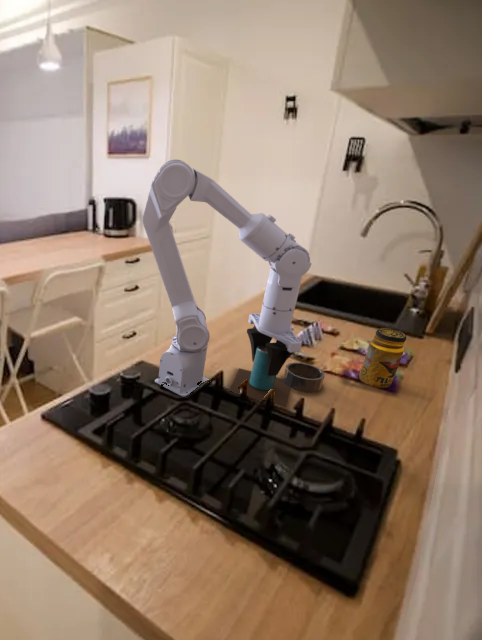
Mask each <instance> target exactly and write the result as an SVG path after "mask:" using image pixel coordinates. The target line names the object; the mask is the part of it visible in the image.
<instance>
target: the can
mask: <svg viewBox="0 0 482 640" xmlns="http://www.w3.org/2000/svg"><path fill="white" fill-rule="evenodd" d="M267 362H268V352H267V348H266V344H261V345H259V346H258V347H257V349H256V354H255V358H254V362H252V368H251V370H250V371H251V376H250V380H249V383H250V384H251V385H252V386H253V387H255V388H257V389H261V390H270V389H272V388H273V387H274V383H275V379H276V377H277V375H272V376H268V375H267Z"/></svg>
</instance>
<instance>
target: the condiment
mask: <svg viewBox="0 0 482 640" xmlns="http://www.w3.org/2000/svg"><path fill="white" fill-rule="evenodd" d="M406 341H407V335H406V333H404V332H402V331H399V330H397V329H393V328H388V327H387V328H385V327H381V328H378V329H376V331H375V334H374V336H373V339H372V340H371V341H369V345H368V347H367V350H366V353H365V356H364V358H363V362H362V365H361V368H360V371H359V374H358V376H359V377H358V378H359V380H360V381H361V382H362V383H364V384H366V385H367V386H370V387H375V388H377V389H379V388H380V389H387V388H390V387H391V385H392V384H393V381H394V379H395V376H396V373H397V371H398V368H399V365H400V363H401V360H402V358H403V356H404V352H405V348H404V346H405V344H406Z"/></svg>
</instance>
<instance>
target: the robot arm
mask: <svg viewBox="0 0 482 640" xmlns="http://www.w3.org/2000/svg"><path fill="white" fill-rule="evenodd" d="M186 198H189V200H190V201H191V202H199V203H205V204H207V205H209V206H210V207H211V208H213V210H215V211H216V212H217V213H219V214H220V215H221V216H223V217H224V218H225V219H227V220H228V221H229V222H230V223H231V224H232V225H234V226H235V227H236V228H237V229H238V239H239V241H240V242H241V243H243V244H244V245H245V246H246V247H248V248H249V249H250V250H251V251H252V252H254V253H255V254H256V255H257V256H258V257H260V258H261V259H262V260H263V261H265V262H267V263H268V265H269V266H270V268H269V273H268V278H267V281H266V285H265V291H264V294H263V299H262V305H261V310H260V313H257V312H256V313H249V316H248V321H247V323H248V324H249V325H254V326H253V327H250V328H247V329H246V334H247V336H248V338H249V342H250V349H251V358H252V359H251V360H252V363H254V358H255V354H256V349H257V347H258V346H259V345H261V344H266V348H267V352H268V362H267V375H268V376H272V375H276V376H278V375H279V374H280V371H281V370H282V368H283V366H284V365H285V363H286V362H287V361H288V360H289V358H290V357H291V356H292V355H294V354H295V353H300V352H301V349H302V345H303V344H302V343H303V342H302V341H301V340H299V338H298V337H297V336H296V334H295V333H294V332H293V331H294V330H295V327H294V326H293V325H292V322H293V317H294V313H295V310H296V305H297V301H298V297H299V293H300V289H301V283H302V278H303V276H304V275H306V274H307V273H308V272H309V270H310V269H311V266H312V263H311V257H310V253H309V252H308V250H307V249H306V248H305V247H303V246H302V245H301V244H299V243H298V242H297V241H296V240H295V239H296V236H295V235H294V234H292V233H291V232H289V233H287V232H286V231H284V230H283V229H282V228H281V227H279V226H278V224H276V223H275V222H276V221H277V219H276V218H275V217H274V216H273V215H272V214H268V215H266V214H265V213H263V212H259V213H250V211H248V210H247V209H246V208H245V207H244V206H243V205H241V204H240V203H239V202H238V201H237V200H236V199H235V198H234V197H233V196H232V195H231V194H230V193H228V192H227V190H225V189H224V188H223V187H222V186H221V185H220V184H218V183H217V182H216V180H214V179H212V178H211V177H209V176H208V175H206V174H204V173H203V172H200V171H199V170H197V169H195V168H192V167H191V165H189V164H188V163H187V162H186V161H184V160H181V159H177V158H176V159H170V160H168V161H166V162H165V163H163V165H162V166H161V167H160V168H159V169H158V171H157V172H156V174H155V176H154V177H153V179H152V182H151V184H150V187H149V191H148V194H147V199H146V202H145V205H144V210H143V214H142V217H141V219H142V225H143V228H144V230H145V233H146V236H147V240H148V242H149V245H150V249H151V251H152V254H153V257H154V259H155V263H156V265H157V269H158V271H159V274H160V277H161V280H162V282H163V285H164V288H165V291H166V294H167V297H168V300H169V302H170V306H171V310H172V313H173V318H174V323H175V326H176V334H175V335H174V336H173V337H172V339H171V344H170V346H169V348H168V349H167V350H166V351H164V352H163V353H162V354H161V356H160V357H159V367H158V378H155V379H154V383H156V384H158V385H159V386H161V384H164V383H162V382H166V383H167V385H166V384H164V385H163V386H162V387H164V388H165V389H167V390H169V391H170V392H172V393H174V394H176V395H178V396H180V397H182V398H185V397H188V396H190V395H191V394H192V393H191V392H192V391H193V390H195V389H196V388H197V387H199V385H200V384H201V383H203V382H205V381H207V380H209V379H210V378H208V377H205V376H204V373H205V365H206V359H207V351H208V346H209V342H210V336H211V335H210V331H209V329H208V326H207V317H206V314H205V313H204V311H203V310H202V309H201V308H200V307H199V306H198V305H197V301H196V298H195V297H194V293H193V291H192V288H191V285H190V281H189V277H188V276H187V272H186V269H185V265H184V263H183V259H182V257H181V254H180V251H179V247H178V244H177V242H176V239H175V235H174V231H173V228H172V226H171V223H170V220H171V219H172V217H173V215H174V214H175V212H176V210H177V207H178V206H179V205H180V204H181V203H182V202H183V201H185V199H186ZM273 339H274V340H275V342H272V340H273ZM200 381H202V382H201V383H200V384H199V385H197V383H198V382H200ZM168 385H169V386H168ZM196 390H197V389H196ZM196 390H195V391H196ZM190 393H191V394H190Z"/></svg>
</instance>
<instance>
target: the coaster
mask: <svg viewBox="0 0 482 640" xmlns="http://www.w3.org/2000/svg"><path fill="white" fill-rule="evenodd" d="M251 371H252V370H249V369H244V368H238V369H237V372H236V374H235V376H234V378H233V380H232V382H231V385H230V387H229V389H228V392H229V391H233V392H236V393H240V389H238V387H239V386H240V385H241V383H242V382H243V381H244V380H246V379H247V380H248V391H247V394H248V396H249V397H248V398H251V399H255V400H259V401H262V399H263V398H264V396H265V395H266V394H267V393H268V391H269V390H261V389H257V388H255V387H253V386H252V385H251V384H250V383H249V380H250V376H251ZM272 389H274V391H275V395H274V405H278V406H281V407H286V408H287V406H288V402H289V401H288V400H289V396H290V391H291V388H290V387H289V386H288V385H286V384H285V383H284V381H283V378H281V377H277V376H276V379H275V383H274V387H273V388H272ZM236 393H235V394H236Z"/></svg>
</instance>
